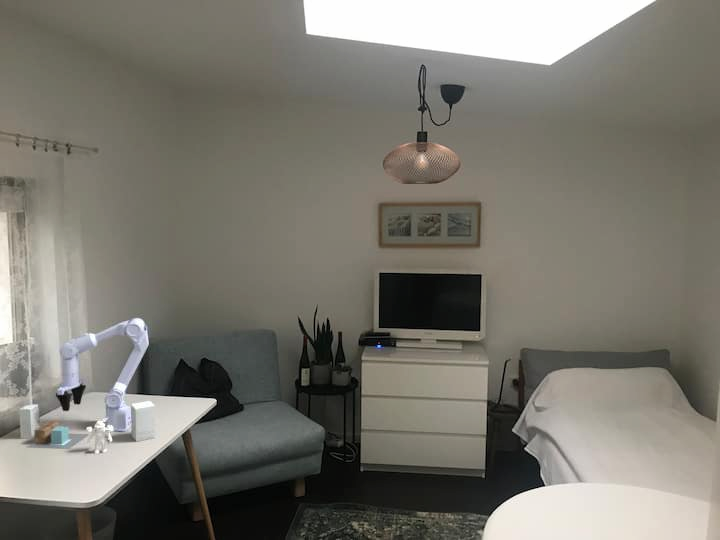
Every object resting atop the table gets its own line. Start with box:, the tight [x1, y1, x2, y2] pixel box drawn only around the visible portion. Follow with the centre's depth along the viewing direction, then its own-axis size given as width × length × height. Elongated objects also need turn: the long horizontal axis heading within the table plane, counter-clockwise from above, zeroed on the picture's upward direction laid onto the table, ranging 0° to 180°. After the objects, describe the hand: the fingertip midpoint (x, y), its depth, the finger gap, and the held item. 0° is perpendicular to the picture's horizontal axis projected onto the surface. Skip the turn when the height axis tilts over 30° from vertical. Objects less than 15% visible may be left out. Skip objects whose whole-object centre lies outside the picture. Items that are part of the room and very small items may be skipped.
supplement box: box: [130, 400, 157, 442], centre depth 217 cm, size 7×7×13 cm
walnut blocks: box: [34, 421, 60, 444], centre depth 212 cm, size 4×8×5 cm, turn 176°
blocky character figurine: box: [85, 417, 114, 454], centre depth 203 cm, size 9×4×12 cm, turn 107°
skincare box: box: [18, 403, 41, 440], centre depth 215 cm, size 6×4×12 cm
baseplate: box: [26, 432, 90, 450], centre depth 211 cm, size 16×14×1 cm
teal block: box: [51, 426, 69, 444], centre depth 209 cm, size 4×4×5 cm
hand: (71, 407), depth 222 cm, fingers open, 7 cm apart
